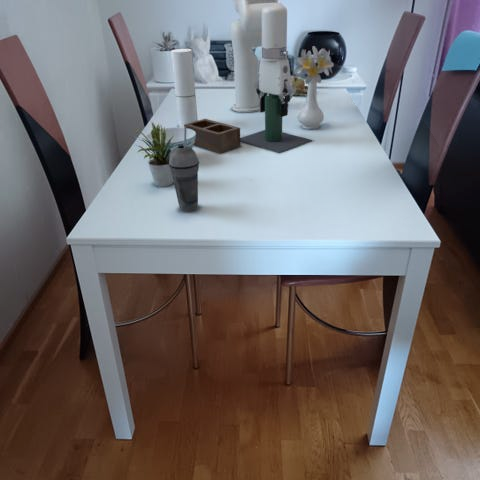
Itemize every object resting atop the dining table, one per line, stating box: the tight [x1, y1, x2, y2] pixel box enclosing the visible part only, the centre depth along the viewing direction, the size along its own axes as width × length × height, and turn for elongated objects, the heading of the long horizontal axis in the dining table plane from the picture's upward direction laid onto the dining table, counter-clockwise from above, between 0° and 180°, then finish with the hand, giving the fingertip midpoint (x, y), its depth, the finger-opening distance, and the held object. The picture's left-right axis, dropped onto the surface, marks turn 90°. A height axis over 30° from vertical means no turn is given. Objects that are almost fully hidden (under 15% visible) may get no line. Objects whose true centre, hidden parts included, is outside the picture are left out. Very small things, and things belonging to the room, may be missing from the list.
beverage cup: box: [169, 126, 200, 213], centre depth 118 cm, size 7×7×20 cm
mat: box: [240, 129, 313, 154], centre depth 165 cm, size 16×20×1 cm
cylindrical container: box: [170, 48, 198, 128], centre depth 176 cm, size 7×7×25 cm
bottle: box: [264, 94, 283, 142], centre depth 160 cm, size 6×6×18 cm
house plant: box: [130, 121, 180, 188], centre depth 134 cm, size 14×14×16 cm
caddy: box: [184, 118, 242, 154], centre depth 163 cm, size 9×17×6 cm, turn 44°
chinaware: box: [145, 127, 196, 156], centre depth 151 cm, size 15×15×8 cm
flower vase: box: [294, 45, 335, 130], centre depth 169 cm, size 13×18×25 cm
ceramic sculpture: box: [290, 73, 308, 96], centre depth 214 cm, size 11×9×15 cm
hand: (273, 113), depth 160 cm, fingers open, 8 cm apart
